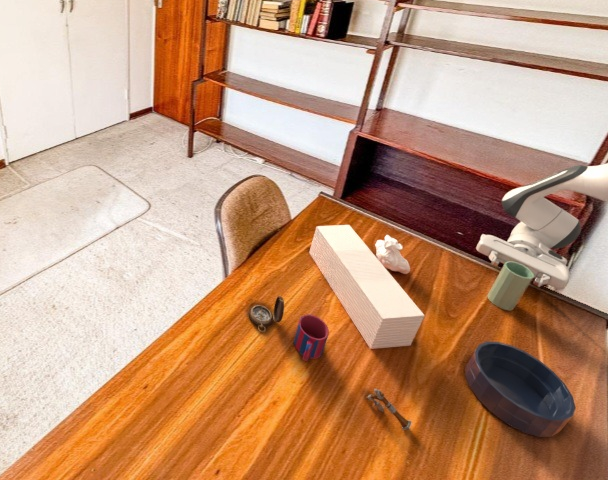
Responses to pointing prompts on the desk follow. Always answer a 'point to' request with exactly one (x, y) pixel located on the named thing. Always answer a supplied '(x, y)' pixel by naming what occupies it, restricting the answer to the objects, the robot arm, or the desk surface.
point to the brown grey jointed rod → (390, 407)
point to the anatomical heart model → (391, 255)
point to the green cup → (510, 285)
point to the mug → (310, 337)
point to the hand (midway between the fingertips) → (515, 273)
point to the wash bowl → (519, 389)
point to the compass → (267, 313)
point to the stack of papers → (365, 288)
